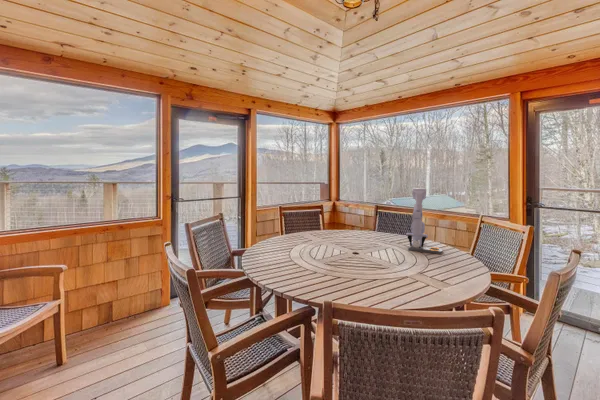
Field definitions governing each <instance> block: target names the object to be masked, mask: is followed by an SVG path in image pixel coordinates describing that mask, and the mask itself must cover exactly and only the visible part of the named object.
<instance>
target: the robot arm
mask: <svg viewBox="0 0 600 400" xmlns="http://www.w3.org/2000/svg"><path fill="white" fill-rule="evenodd" d="M426 197H427V188H425V187H424V188H423V187H418V188H417V187H412V199H413V200H415V203H414V205H413V211H412V222H411V226H410V231H411V232H406V233H405V235H406V236H407V239H408V242H409V246H412V245H413V241H414V240H420V246H421V247H424V244H425V241H426V239H427V238H428V236H429V234H426V233H425V232H426V225H425V222H424V221H422V220H423V219H422V218H423V215H424V214H423V201H424V200H425V199H426Z"/></svg>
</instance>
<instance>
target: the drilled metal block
mask: <svg viewBox="0 0 600 400" xmlns="http://www.w3.org/2000/svg"><path fill="white" fill-rule="evenodd" d="M412 243H413V248H420V240H414V241H413V240H412Z"/></svg>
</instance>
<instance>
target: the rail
mask: <svg viewBox="0 0 600 400" xmlns="http://www.w3.org/2000/svg"><path fill="white" fill-rule="evenodd" d="M443 249H444V248H439V247H434V246H433V247H432V246H431V247H429V246H423V247H421V246H420V248H413V245H412V246H410V245H409V246H408V248H407V250H408V251H411V252H419V253H420V252H421V253H427V254H435V255H436V254H437V255H442V254H443V252H444V250H443Z"/></svg>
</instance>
